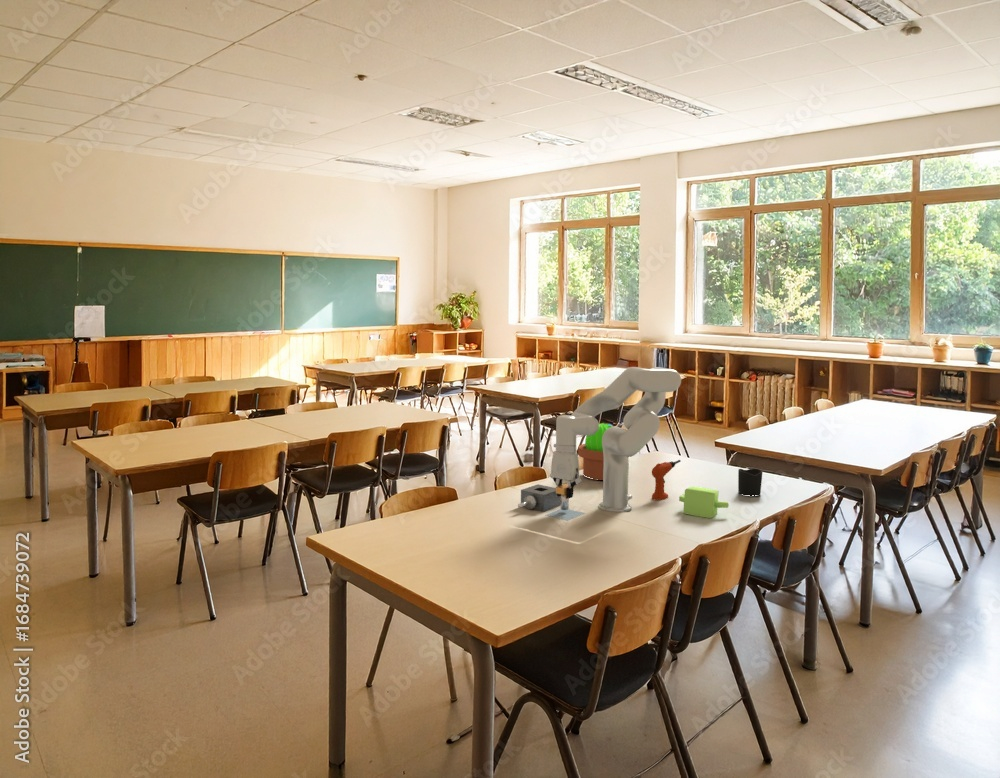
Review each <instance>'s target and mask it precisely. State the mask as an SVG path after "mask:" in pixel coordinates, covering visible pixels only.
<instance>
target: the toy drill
mask: <svg viewBox="0 0 1000 778" xmlns="http://www.w3.org/2000/svg"><path fill="white" fill-rule="evenodd" d="M680 462H682V460H681V459H678V460H676V461H669V462H668V461H667V462H666V461H665V462H662V463H657V464H656V465H655V466H654V467H652V469H651V475H652V477H653V478H654V480H655V488H654V492H653V493H652V495H651V500H654V499H655V500H654V501H663V500H667V499H668V498H669V495H668V493H666V492H665V483H666V480H665V478H664V477H665V476H666V475H667V474H668V473H669V472H670V471H671V470H672V469H673V468H675V467H676V465H677V464H679V463H680ZM666 498H667V499H666ZM662 499H663V500H662Z"/></svg>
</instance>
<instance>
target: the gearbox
mask: <svg viewBox="0 0 1000 778" xmlns="http://www.w3.org/2000/svg"><path fill="white" fill-rule="evenodd" d="M719 492H720V491H719V490H716V489H713V488H706V487H700V486H690V487H687V488H686V489H684V494H682V495H680V496H679V498H678V499H679V500H678V501H679V502H681V503H682V502H683V510H682V511H683V512H682V513H683V514H687V515H691V516H696V517H701V518H707V519H708V518H709V519H712V518H714V517H715V516H716V515H717V514H718V509H720V508H721V509H724V508H725V509H728V508H729V502H728V501H719Z"/></svg>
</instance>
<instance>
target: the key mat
mask: <svg viewBox="0 0 1000 778" xmlns="http://www.w3.org/2000/svg"><path fill="white" fill-rule="evenodd" d="M585 514H586V512H581V511H578V510H574V509H573V510H572V509H568V510H561V508H559V509H557V510H555V511H551V512H550V513H547V514H545V516H546V517H550V518H554V519H559V520H563V521H570V520H573V519H574V518H578V517H579V516H582V515H585Z"/></svg>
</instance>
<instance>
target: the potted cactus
mask: <svg viewBox="0 0 1000 778" xmlns="http://www.w3.org/2000/svg"><path fill="white" fill-rule="evenodd" d="M610 427H615V426H614V425H612V424H611V423H606V422H602V423H599V429H598V431H597V432H596V433H595V434H593V435H590V436H585V441H584V443H582V444H580V445H578V447H577V448H578V450H577V451H578V452H577V454H578V457H580V458H583V462H582V464H583V469H582V475H583V474H584V475H585V476H587V477H590V478H593V479H598V480H603V469H604V455H603V447H602V437H603V434H604V432H605V431H606V430H607V429H608V428H610Z"/></svg>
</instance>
